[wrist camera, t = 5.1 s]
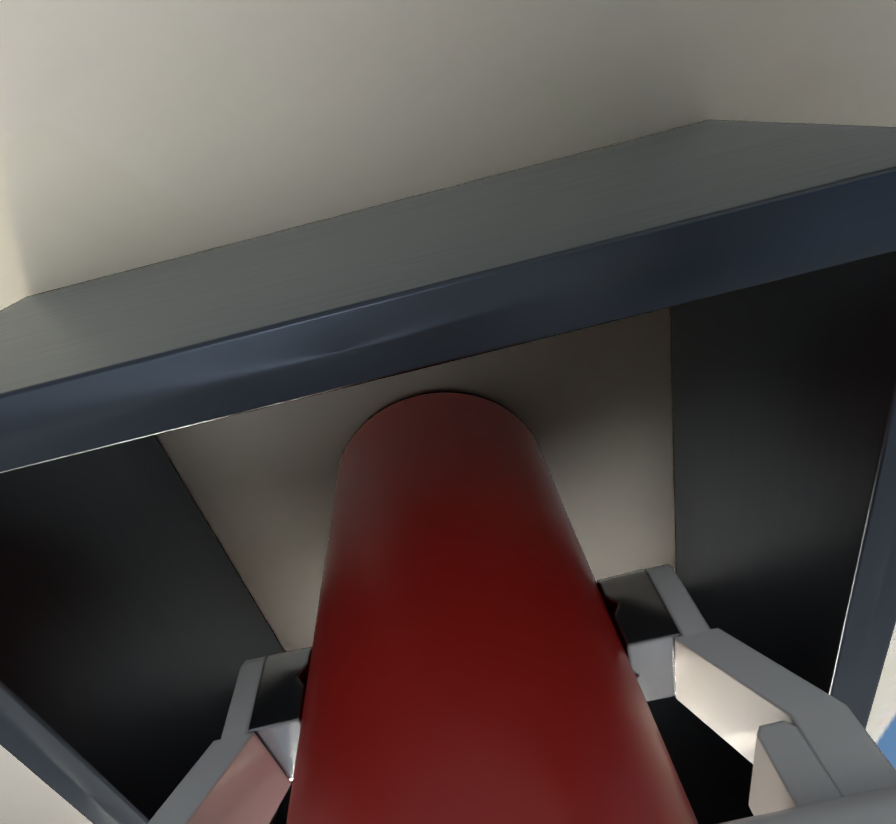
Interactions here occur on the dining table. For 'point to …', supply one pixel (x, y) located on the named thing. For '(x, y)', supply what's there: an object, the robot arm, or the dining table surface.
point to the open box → (440, 341)
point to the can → (467, 643)
